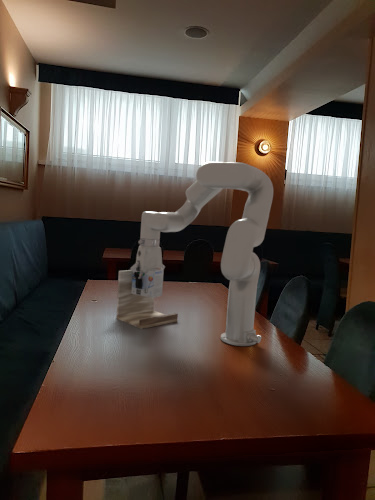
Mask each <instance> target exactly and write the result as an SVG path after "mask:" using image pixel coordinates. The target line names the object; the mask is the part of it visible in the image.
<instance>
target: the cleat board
mask: <svg viewBox="0 0 375 500" xmlns="http://www.w3.org/2000/svg"><path fill="white" fill-rule="evenodd" d="M132 277H133V274H132V271H131V270H130V269H128V270H127V269H126V270H118V279H117V296H116V297H117V298H116V300H117V301H116V320H119V321H122V322H124V323H126V324H129V325H132V326H134V327H136V328H139V329H140V330H143V329H147V328H151V327H152V328H153V327H156V326H157V327H158V326H161V325H165V324H166V325H167V324H171V323H177V322H178V317H179V316H178V313H176V312H174V313H167V314H166V313H165V314H164V313H162V312H159V311H157V310H154V309H155V307H154V306H155V298H150V297H145V296H140V295H136V294H131V292H132Z"/></svg>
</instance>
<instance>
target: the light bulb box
mask: <svg viewBox="0 0 375 500" xmlns="http://www.w3.org/2000/svg"><path fill="white" fill-rule="evenodd" d="M139 270H140V269H139ZM164 271H165V268H164V269H151V270H148V273H143V275H142V277H141V279H142V289H138V288H136V287H135V283H136V278H135V277H134V275H133V277H132V292H131V294H136V295H140V296H145V297H150V298H154V299H155V298H158V297H161V296H163V287H164V285H163V283H164V274H165V273H164ZM136 272H137V271H136ZM139 274H140V272H139Z"/></svg>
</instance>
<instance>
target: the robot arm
mask: <svg viewBox="0 0 375 500" xmlns="http://www.w3.org/2000/svg"><path fill="white" fill-rule="evenodd" d="M195 177H196V181H194V182H193V183H192V184H191V185H190V186H189V187H188V188H186V190H185V197H186V200H185V202H184V204H183V205H182V206H181V207H180V208H179V209H177V210H176V211H175V212H174V211H171V212H170V211H167V212H166V211H161V212H160V211H159V212H157V211H143V212H142V214H141V221H140V222H141V223H140V237H139V238H140V239H139V240H138V245H139V246H138V249H137V253H136V257H135V263H134V264H133V265H132V266H131V267H130V268H129V270H131V271H132V274H133V275H134V277H135V278H136V283H135V287H136V288H138V289H142V279H141V277H142V275H143V273H148V270H151V269H164V270H165V268H166V266H165V265H164V264H163V257H162V256H163V255H162V247H160V240H161V239H160V238H161V232H162V233H176V232H180V231H183V230H184V229H185V228H186V227H187V226H189V225H190V224H191V223H193V222H194V220H195V219H196V218H197V217H198V215H199V213H200V212H201V211H202V209H203V208H204V206H205V205H206V204H208V203H209V202H210V201H211V200H212V199H213V198H215V196H216V195H218V194H219V193H220V192H221V191H222V190H223V189H228V190H229V189H230V190H238V191H243V192H247V193H248V196H247V199H246V202H245V205H244V208H243V209H244V210H243V212H242V213H243V214H242V216H241V219H237V220H235V221H234V222H233V223H232V224H231V225H230V226H229V228H228V230H227V234H226V237H225V242H224V246H223V251H222V255H221V261H220V270H221V274H222V275H223V276H224V278H225V279H227V280H228V281H229V286H228V293H227V294H228V295H227V307H226V308H227V309H226V320H225V322H226V323H225V332H223V333H221V334H220V341H222V342H223V343H226V344H228V345H230V346H231V345H232V346H237V347H250V346H253V345H256V344H260V343H261V341H262V338H263V337H262V335H259V334H257V330H256V329H254V326H255V315H256V314H255V312H256V300H257V292H258V291H257V289H258V284H259V277H260V273H261V260H260V259H259V257H258V254H256V253H255V252H254V248H257V247H258V246H260V245H261V244H262V243H263V241H264V240H265V235H266V230H267V226H268V221H269V218H270V213H271V207H272V203H273V199H274V198H273V197H274V186H273V182H272V181H271V180H272V179H270V177H269V176H268V175H267V174H266V173H265V172H264V171H263V170H261V169H259V168H257V167H255V166H254V165H253V166H252V165H250V164H248V163H245V162H239V161H238V162H237V161H236V162H233V161H230V162H224V161H207V162H204V163H203V164H201V165H200V166H199V168H197V170H196V175H195ZM139 269H140V270H139ZM136 271H137V272H136ZM139 272H140V274H139Z"/></svg>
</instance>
